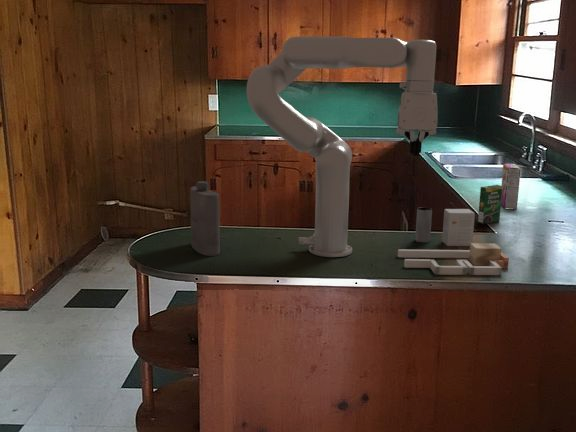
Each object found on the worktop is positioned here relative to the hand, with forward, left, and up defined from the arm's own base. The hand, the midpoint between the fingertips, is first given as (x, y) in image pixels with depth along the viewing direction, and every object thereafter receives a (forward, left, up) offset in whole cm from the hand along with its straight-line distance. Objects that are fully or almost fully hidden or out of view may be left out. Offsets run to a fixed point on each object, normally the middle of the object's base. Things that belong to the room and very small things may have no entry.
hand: (414, 155), depth 170 cm
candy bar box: (+54, +69, -29) cm, 92 cm away
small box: (+18, +14, -29) cm, 37 cm away
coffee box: (+37, +42, -29) cm, 63 cm away
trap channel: (+11, -8, -29) cm, 32 cm away
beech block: (+20, -5, -29) cm, 36 cm away
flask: (-59, +5, -29) cm, 66 cm away
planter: (+8, +17, -29) cm, 35 cm away
